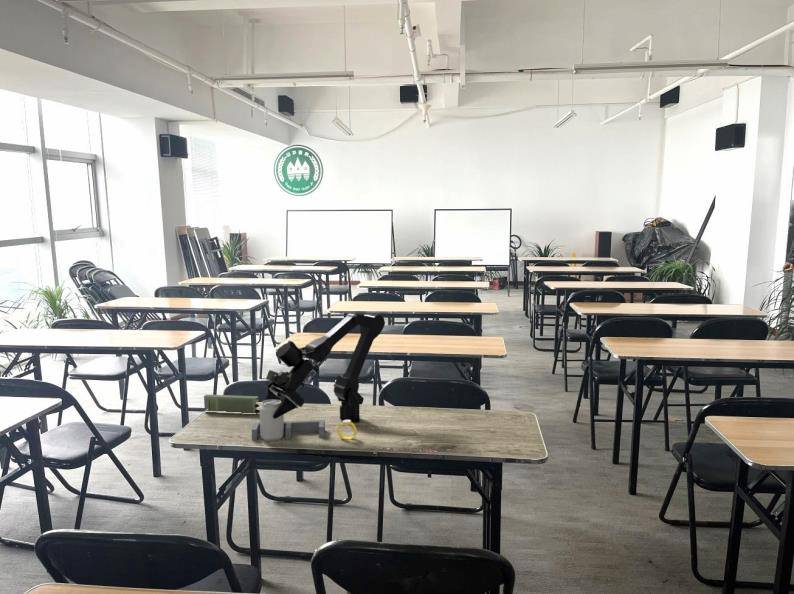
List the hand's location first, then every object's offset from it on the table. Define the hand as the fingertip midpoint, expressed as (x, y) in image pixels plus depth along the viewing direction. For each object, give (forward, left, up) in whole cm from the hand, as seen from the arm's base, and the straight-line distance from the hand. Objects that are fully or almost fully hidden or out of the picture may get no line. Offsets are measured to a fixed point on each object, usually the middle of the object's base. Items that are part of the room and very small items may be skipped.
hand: (267, 414), depth 184 cm
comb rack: (-7, -3, -8) cm, 11 cm away
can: (-1, -1, -8) cm, 8 cm away
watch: (-25, +3, -8) cm, 27 cm away
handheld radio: (+13, -29, -8) cm, 33 cm away
